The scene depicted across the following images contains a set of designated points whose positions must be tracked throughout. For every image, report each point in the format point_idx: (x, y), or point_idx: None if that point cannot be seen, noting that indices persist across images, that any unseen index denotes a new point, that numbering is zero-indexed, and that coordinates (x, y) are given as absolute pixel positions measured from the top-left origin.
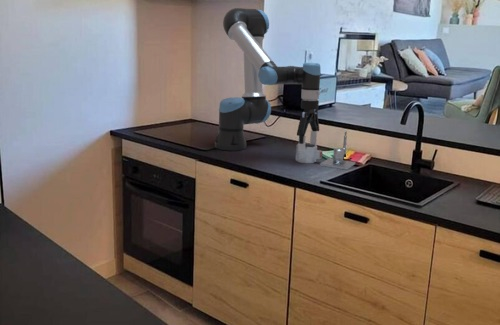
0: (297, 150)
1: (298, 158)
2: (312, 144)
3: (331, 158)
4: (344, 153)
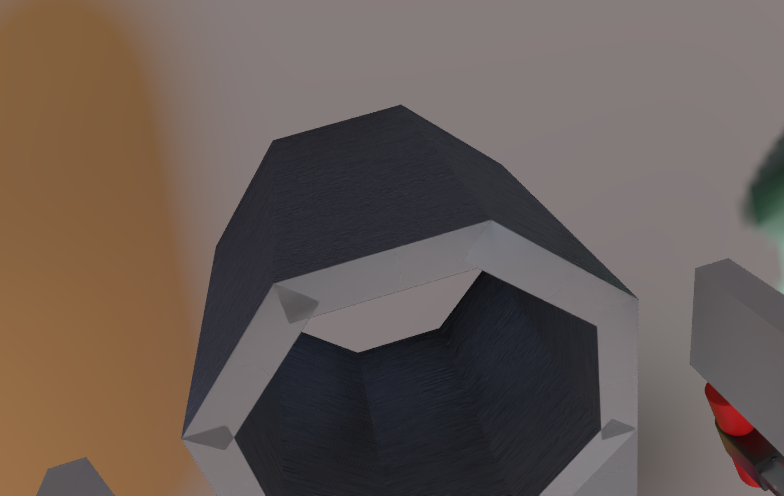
0: (237, 281)
1: (217, 264)
2: (601, 422)
3: (637, 403)
4: (770, 489)
